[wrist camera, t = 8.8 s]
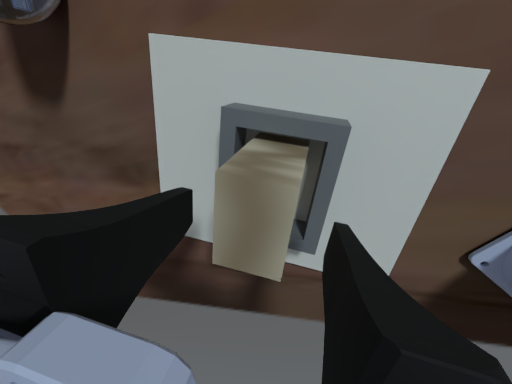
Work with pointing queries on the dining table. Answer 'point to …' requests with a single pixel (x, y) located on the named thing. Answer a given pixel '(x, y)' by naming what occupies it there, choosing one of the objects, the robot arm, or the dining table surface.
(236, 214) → the birch peg
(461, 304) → the dining table surface
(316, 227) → the peg socket
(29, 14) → the tin
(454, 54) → the dining table surface
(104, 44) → the dining table surface
